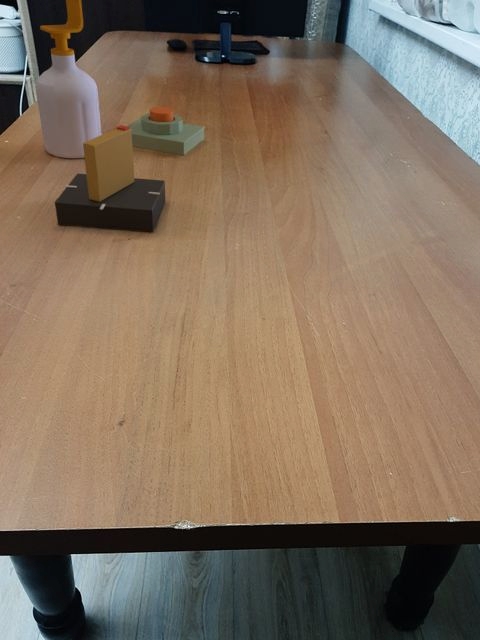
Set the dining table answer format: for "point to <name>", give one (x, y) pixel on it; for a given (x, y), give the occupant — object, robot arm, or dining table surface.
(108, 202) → the black dial base
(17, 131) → the dining table surface
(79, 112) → the soap bottle
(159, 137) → the button box
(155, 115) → the button
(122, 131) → the yellow angular block
